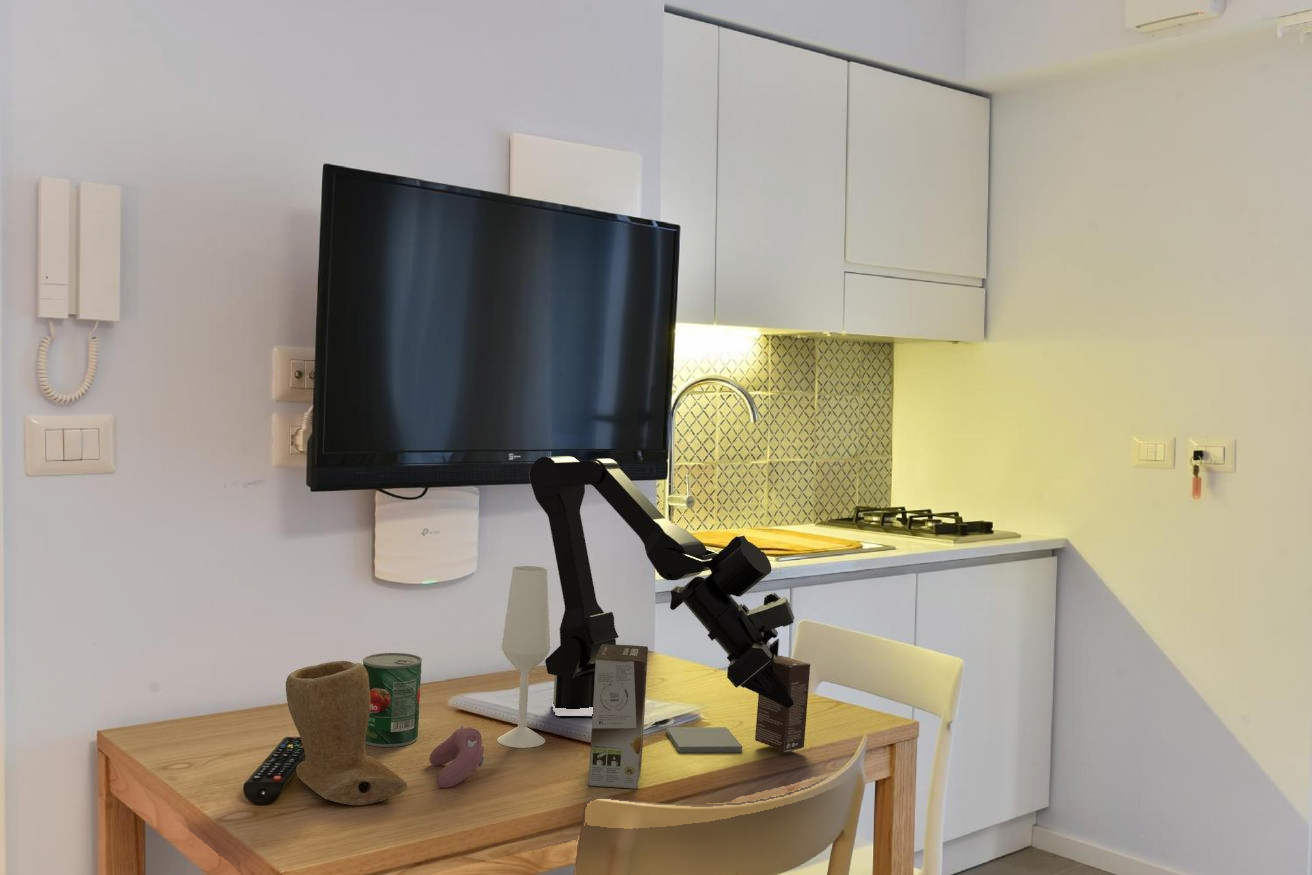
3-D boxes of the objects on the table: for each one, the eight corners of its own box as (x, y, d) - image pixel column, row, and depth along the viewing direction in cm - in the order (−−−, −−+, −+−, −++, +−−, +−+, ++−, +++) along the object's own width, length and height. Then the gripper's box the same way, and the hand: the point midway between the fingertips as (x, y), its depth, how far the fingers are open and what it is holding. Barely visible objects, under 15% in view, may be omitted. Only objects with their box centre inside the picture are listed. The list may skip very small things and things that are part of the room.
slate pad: (678, 752, 157) (679, 746, 156) (666, 732, 165) (666, 727, 165) (742, 751, 158) (742, 746, 158) (726, 732, 167) (726, 727, 167)
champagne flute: (505, 749, 154) (514, 573, 153) (490, 734, 160) (499, 565, 159) (552, 745, 157) (561, 572, 156) (536, 731, 163) (544, 564, 162)
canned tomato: (347, 741, 154) (350, 660, 153) (381, 726, 161) (385, 649, 160) (396, 751, 151) (400, 668, 150) (429, 735, 158) (433, 657, 158)
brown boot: (270, 777, 138) (275, 655, 138) (366, 764, 145) (371, 647, 144) (305, 819, 126) (311, 685, 125) (408, 803, 132) (414, 675, 132)
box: (806, 748, 159) (812, 663, 159) (783, 753, 156) (789, 666, 156) (775, 736, 164) (781, 653, 163) (752, 740, 161) (758, 656, 160)
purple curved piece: (466, 801, 138) (495, 749, 139) (433, 786, 137) (462, 733, 138) (456, 774, 148) (483, 725, 148) (425, 759, 146) (452, 711, 147)
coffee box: (639, 789, 141) (645, 661, 140) (587, 786, 141) (594, 658, 140) (642, 765, 150) (648, 645, 149) (593, 762, 150) (600, 642, 150)
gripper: (758, 588, 151) (836, 679, 149) (767, 567, 169) (837, 648, 168) (695, 641, 152) (772, 731, 151) (711, 615, 170) (779, 695, 169)
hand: (792, 699), depth 160 cm, fingers closed on box, 7 cm apart
